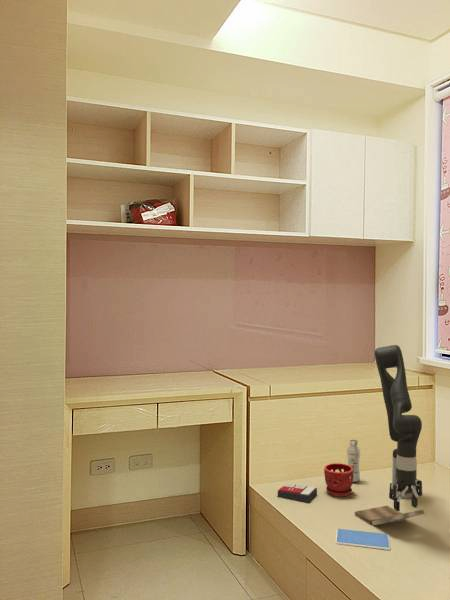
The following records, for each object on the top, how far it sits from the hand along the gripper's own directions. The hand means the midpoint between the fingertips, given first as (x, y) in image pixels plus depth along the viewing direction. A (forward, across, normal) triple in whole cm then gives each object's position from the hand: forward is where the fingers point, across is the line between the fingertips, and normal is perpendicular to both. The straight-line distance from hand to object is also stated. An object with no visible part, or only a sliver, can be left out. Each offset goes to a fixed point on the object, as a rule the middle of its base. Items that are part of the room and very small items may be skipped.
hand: (405, 508), depth 206 cm
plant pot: (+9, 0, -43) cm, 44 cm away
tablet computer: (+10, +20, -1) cm, 22 cm away
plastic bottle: (+9, -16, -53) cm, 56 cm away
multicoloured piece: (+10, +19, -47) cm, 52 cm away
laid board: (+9, 0, -15) cm, 18 cm away
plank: (+6, 0, -4) cm, 7 cm away
